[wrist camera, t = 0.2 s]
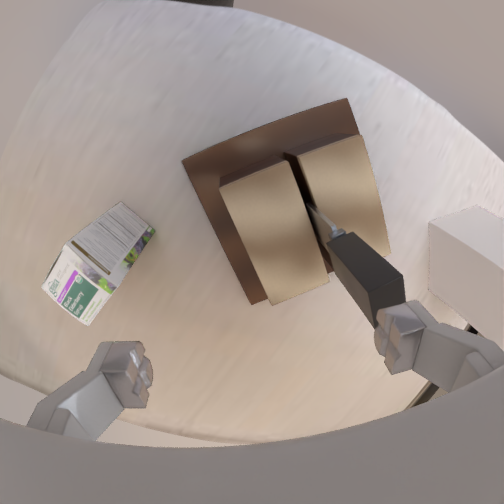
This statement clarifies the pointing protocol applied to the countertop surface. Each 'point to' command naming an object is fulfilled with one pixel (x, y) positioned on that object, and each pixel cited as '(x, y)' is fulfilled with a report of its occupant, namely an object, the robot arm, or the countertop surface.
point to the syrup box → (96, 262)
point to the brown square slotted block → (288, 198)
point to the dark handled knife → (359, 267)
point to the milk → (470, 268)
